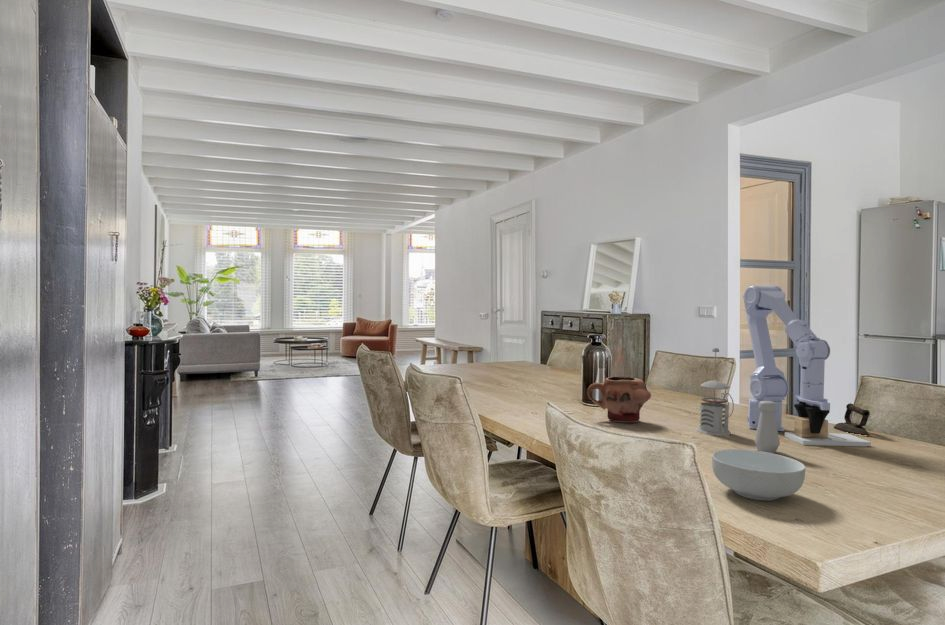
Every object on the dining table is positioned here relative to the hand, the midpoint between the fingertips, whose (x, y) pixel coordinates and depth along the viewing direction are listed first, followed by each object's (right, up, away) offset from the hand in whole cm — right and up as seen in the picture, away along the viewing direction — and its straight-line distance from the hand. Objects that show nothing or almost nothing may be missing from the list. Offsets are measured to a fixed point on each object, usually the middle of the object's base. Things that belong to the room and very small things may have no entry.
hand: (810, 431), depth 164 cm
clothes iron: (+21, -3, +12) cm, 24 cm away
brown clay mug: (-48, -2, +24) cm, 54 cm away
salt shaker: (-19, -3, -12) cm, 23 cm away
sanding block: (0, -1, 0) cm, 1 cm away
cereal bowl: (-38, -3, -47) cm, 60 cm away
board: (+4, -3, 0) cm, 5 cm away
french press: (-23, -2, +9) cm, 25 cm away
